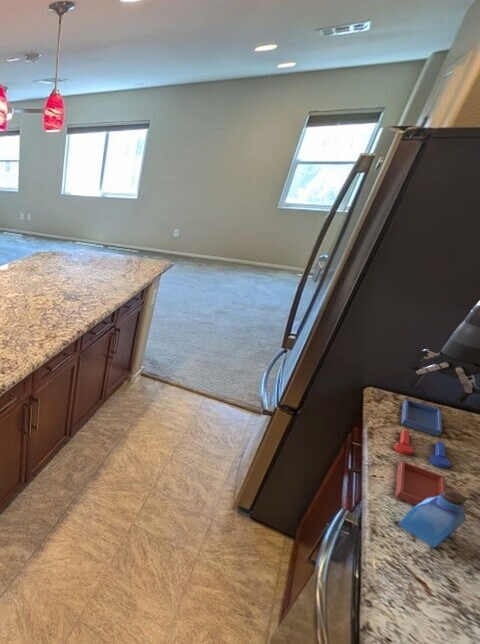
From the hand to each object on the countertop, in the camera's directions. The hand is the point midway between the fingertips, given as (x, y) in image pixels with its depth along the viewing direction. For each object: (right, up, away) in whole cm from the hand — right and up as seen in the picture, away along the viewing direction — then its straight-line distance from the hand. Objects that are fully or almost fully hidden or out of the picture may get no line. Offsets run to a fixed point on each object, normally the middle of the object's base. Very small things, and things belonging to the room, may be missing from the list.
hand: (435, 393), depth 103 cm
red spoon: (0, -15, +8) cm, 17 cm away
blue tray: (+15, -10, +16) cm, 24 cm away
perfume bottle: (-22, -30, -15) cm, 40 cm away
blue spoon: (+5, -18, +3) cm, 19 cm away
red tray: (-12, -24, -6) cm, 27 cm away
